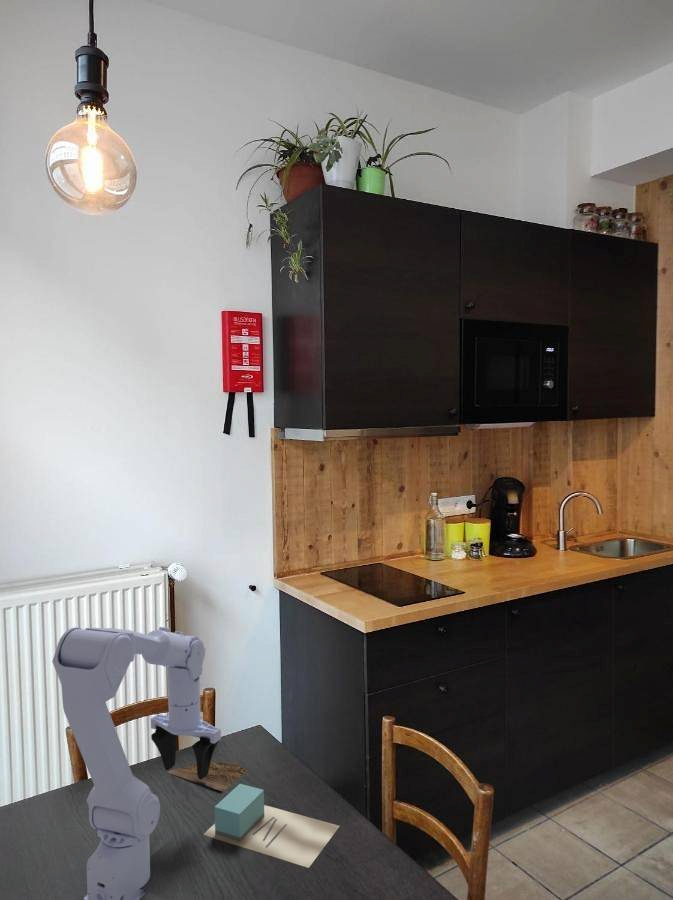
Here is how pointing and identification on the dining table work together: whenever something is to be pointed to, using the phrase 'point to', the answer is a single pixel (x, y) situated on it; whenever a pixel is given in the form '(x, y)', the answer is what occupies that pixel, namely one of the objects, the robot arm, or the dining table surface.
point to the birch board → (285, 836)
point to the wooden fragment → (213, 774)
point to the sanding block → (239, 812)
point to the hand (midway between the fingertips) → (186, 771)
